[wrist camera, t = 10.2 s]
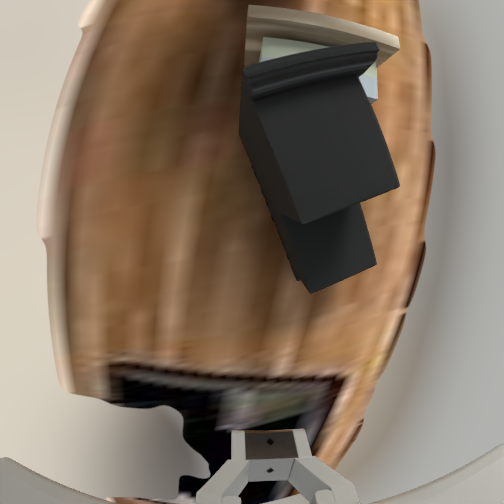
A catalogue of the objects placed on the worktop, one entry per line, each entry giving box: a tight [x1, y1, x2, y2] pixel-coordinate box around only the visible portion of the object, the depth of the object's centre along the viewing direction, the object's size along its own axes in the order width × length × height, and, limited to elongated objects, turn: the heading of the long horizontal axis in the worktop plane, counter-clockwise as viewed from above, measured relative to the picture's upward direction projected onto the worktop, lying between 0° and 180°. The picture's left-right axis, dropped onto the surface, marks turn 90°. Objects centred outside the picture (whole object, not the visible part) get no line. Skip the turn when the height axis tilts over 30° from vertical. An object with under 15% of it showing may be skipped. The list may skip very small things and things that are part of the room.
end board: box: [244, 5, 400, 68], centre depth 29 cm, size 2×18×14 cm, turn 86°
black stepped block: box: [239, 42, 400, 293], centre depth 29 cm, size 23×11×24 cm, turn 22°
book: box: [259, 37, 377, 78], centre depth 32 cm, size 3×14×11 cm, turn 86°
